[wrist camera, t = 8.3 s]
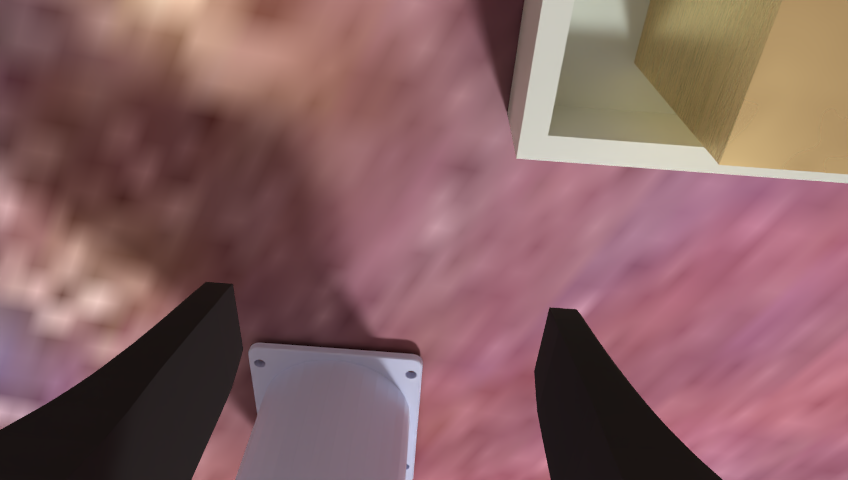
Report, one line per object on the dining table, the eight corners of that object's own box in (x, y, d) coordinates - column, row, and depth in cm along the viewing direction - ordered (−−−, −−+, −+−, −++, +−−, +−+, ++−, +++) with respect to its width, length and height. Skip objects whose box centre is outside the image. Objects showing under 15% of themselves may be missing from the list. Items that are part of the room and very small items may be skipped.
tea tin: (778, 73, 18) (931, 180, 12) (633, 62, 18) (718, 164, 12) (846, -93, 16) (1079, -57, 10) (678, -105, 16) (811, -77, 10)
